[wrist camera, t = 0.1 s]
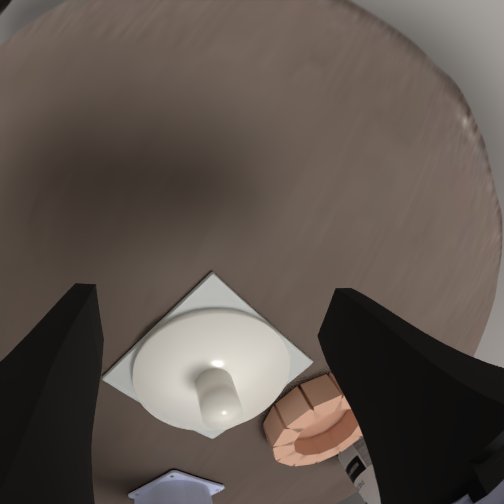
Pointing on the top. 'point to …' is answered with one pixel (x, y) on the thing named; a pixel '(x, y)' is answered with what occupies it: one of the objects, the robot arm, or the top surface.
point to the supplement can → (360, 470)
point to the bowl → (311, 423)
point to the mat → (201, 297)
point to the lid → (210, 369)
